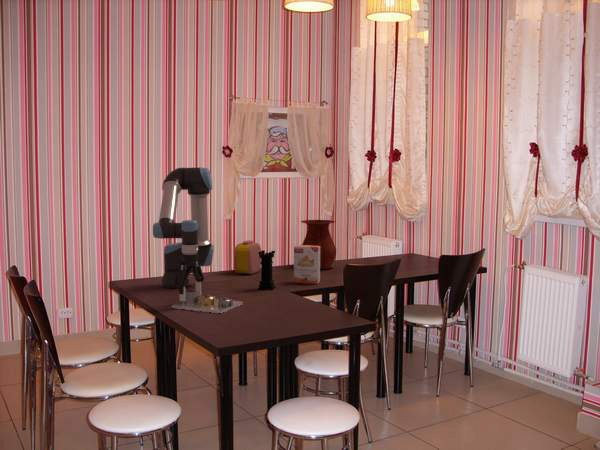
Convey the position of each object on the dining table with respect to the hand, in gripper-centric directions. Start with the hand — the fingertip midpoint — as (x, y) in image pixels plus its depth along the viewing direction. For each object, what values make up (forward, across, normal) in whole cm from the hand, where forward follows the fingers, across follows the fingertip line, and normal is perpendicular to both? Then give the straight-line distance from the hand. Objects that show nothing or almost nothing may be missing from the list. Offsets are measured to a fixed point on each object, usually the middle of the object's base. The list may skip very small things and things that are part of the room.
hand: (190, 298), depth 308 cm
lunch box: (+4, +89, +17) cm, 91 cm away
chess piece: (+4, +50, -15) cm, 52 cm away
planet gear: (+2, 0, 0) cm, 2 cm away
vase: (+4, +123, -15) cm, 124 cm away
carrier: (+3, 0, -9) cm, 10 cm away
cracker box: (+4, +74, -28) cm, 79 cm away
